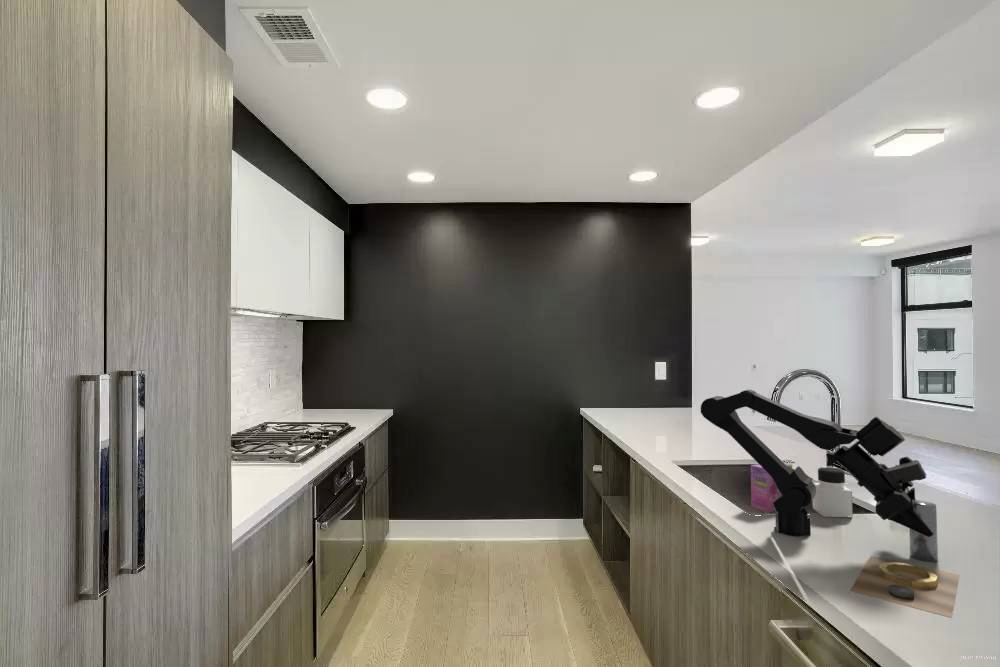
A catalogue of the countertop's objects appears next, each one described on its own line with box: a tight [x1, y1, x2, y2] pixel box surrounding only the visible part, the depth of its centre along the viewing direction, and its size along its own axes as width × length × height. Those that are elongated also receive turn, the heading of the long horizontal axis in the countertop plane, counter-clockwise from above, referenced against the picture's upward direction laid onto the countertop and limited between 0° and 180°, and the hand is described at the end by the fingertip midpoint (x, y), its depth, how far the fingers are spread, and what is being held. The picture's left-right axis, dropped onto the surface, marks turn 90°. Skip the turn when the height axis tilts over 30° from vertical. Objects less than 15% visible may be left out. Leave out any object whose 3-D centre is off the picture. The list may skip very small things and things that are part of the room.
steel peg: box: [908, 499, 939, 563], centre depth 109 cm, size 4×4×12 cm
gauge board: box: [849, 555, 960, 619], centre depth 98 cm, size 21×14×2 cm, turn 136°
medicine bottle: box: [812, 466, 854, 518], centre depth 139 cm, size 7×7×12 cm
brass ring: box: [879, 562, 938, 589], centre depth 99 cm, size 8×8×1 cm
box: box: [750, 462, 793, 513], centre depth 145 cm, size 10×6×12 cm, turn 117°
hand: (931, 530), depth 108 cm, fingers open, 7 cm apart
